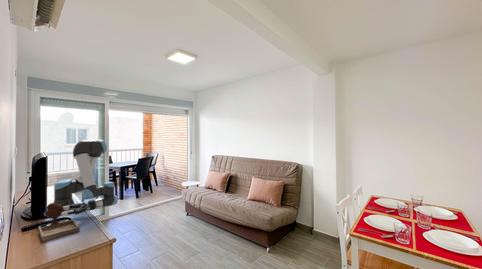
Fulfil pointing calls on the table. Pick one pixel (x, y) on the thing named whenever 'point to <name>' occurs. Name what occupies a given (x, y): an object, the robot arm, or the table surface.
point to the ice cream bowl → (54, 212)
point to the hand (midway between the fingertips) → (59, 212)
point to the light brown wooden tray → (58, 230)
